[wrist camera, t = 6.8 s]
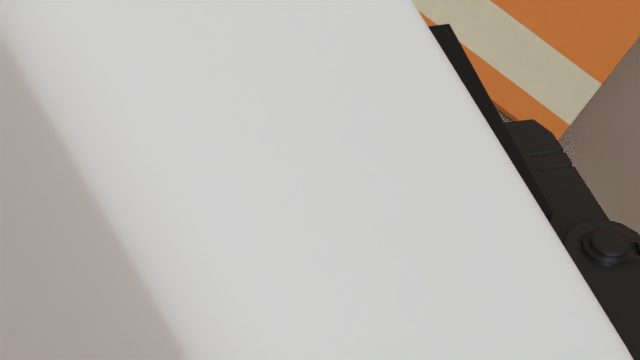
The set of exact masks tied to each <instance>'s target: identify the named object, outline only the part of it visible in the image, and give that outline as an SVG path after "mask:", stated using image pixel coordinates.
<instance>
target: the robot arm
mask: <svg viewBox="0 0 640 360" xmlns="http://www.w3.org/2000/svg"><path fill="white" fill-rule="evenodd" d="M428 27H429V29H430V31H431V32H432V34H433V35H434V37H435V39H436V40H437V42H438V43H439V45H440V47H441V48H442V50H443V52H444V53H445V55H446V56H447V58H448V60H449V61H450V63H451V64H452V66H453V68H454V69H455V71H456V73H457V74H458V76H459V77H460V79H461V81H462V82H463V84H464V85H465V87H466V89H467V90H468V92H469V94H470V95H471V97H472V98H473V100H474V102H475V103H476V105H477V107H478V108H479V110H480V111H481V113H482V115H483V116H484V118H485V119H486V121H487V123H488V124H489V126H490V128H491V129H492V131H493V132H494V134H495V136H496V137H497V139H498V140H499V142H500V144H501V145H502V147H503V149H504V150H505V152H506V153H507V155H508V157H509V158H510V160H511V161H512V163H513V165H514V166H515V168H516V170H517V171H518V173H519V174H520V176H521V178H522V179H523V181H524V183H525V184H526V186H527V187H528V189H529V191H530V192H531V194H532V195H533V197H534V199H535V200H536V202H537V204H538V205H539V207H540V208H541V210H542V212H543V213H544V215H545V216H546V218H547V220H548V221H549V223H550V225H551V226H552V228H553V229H554V231H555V233H556V234H557V236H558V237H559V239H560V241H561V242H562V244H563V246H564V247H565V249H566V250H567V252H568V254H569V255H570V257H571V258H572V260H573V262H574V263H575V265H576V267H577V268H578V270H579V271H580V273H581V275H582V276H583V278H584V280H585V281H586V283H587V284H588V286H589V288H590V289H591V291H592V292H593V294H594V296H595V297H596V299H597V301H598V302H599V304H600V305H601V307H602V309H603V310H604V312H605V313H606V315H607V317H608V318H609V320H610V322H611V323H612V325H613V326H614V328H615V330H616V331H617V333H618V334H619V336H620V338H621V339H622V341H623V343H624V344H625V346H626V347H627V349H628V351H629V353H630V354H631V356H632V358H633V360H640V235H639V234H638V233H637V232H635V231H633V230H632V229H630V228H628V227H626V226H625V225H623V224H620V223H617V222H613V221H610V220H609V219H608V217H607V216H606V214H605V213H604V211H603V210H602V208H601V207H600V205H599V204H598V202H597V201H596V199H595V197H594V196H593V194H592V193H591V191H590V190H589V188H588V187H587V185H586V184H585V182H584V181H583V179H582V177H581V176H580V174H579V173H578V171H577V170H576V168H575V167H573V166H572V162H571V161H570V159H569V158H568V156H567V154H566V153H563V148H562V147H561V145H560V144H559V142H558V141H557V139H556V138H555V136H554V134H553V133H552V132H551V131H549V130H548V129H547V128H545V127H544V126H542V125H541V124H539V123H538V122H537V121H535V120H534V119H530V120H521V121H513V122H505V123H504V122H503V121H502V119H501V117H500V115H499V113H498V111H497V110H496V108H495V106H494V104H493V102H492V100H491V99H490V97H489V95H488V93H487V91H486V90H485V88H484V86H483V84H482V82H481V80H480V79H479V77H478V75H477V73H476V71H475V69H474V68H473V66H472V64H471V62H470V60H469V58H468V57H467V55H466V53H465V51H464V49H463V48H462V46H461V44H460V42H459V40H458V38H457V37H456V35H455V33H454V31H453V29H452V27H451V26H450V24H443V25H435V26H428Z"/></svg>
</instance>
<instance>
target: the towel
mask: <svg viewBox="0 0 640 360" xmlns="http://www.w3.org/2000/svg"><path fill="white" fill-rule="evenodd" d="M412 1H413V3H414V5H415V6H416V8H417V9H418V11H419V13H420V14H421V16H422V18H423V19H424V21H425V22H426V24H427V26H435V25H443V24H450V26H451V27H452V29H453V31H454V33H455V35H456V37H457V38H458V40H459V42H460V44H461V46H462V48H463V49H464V51H465V53H466V55H467V57H468V58H469V60H470V62H471V64H472V66H473V68H474V69H475V71H476V73H477V75H478V77H479V79H480V80H481V82H482V84H483V86H484V88H485V90H486V91H487V93H488V95H489V97H490V99H491V100H492V102H493V104H494V106H495V107H496V108H497V109H498V110H500V111H501V112H502V113H503V114H505V115H506V116H507V117H509V118H510V119H511V120H513V121H521V120H530V119H534V120H535V121H537V122H538V123H539V124H541V125H542V126H544V127H545V128H547V129H548V130H549V131H551V132H552V133H553V134H554V136H555V138H556V139H557V141H558V140H559V139H560V137H561V136H562V135H563V134H564V132H565V131H566V130H567V128H568V127H569V126H570V125H571V124H572V122H573V121H574V120H575V119H576V117H577V116H578V115H579V113H580V112H581V111H582V110H583V108H584V107H585V106H586V104H587V103H588V102H589V101H590V99H591V98H592V97H593V96H594V94H595V93H596V92H597V90H598V89H599V88H600V87H601V85H602V84H603V83H604V81H605V80H606V79H607V77H608V76H609V75H610V74H611V72H612V71H613V70H614V69H615V67H616V66H617V65H618V63H619V62H620V61H621V60H622V58H623V57H624V56H625V55H626V53H627V52H628V51H629V49H630V48H631V47H632V46H633V44H634V43H635V42H636V40H637V39H638V38H639V37H640V0H412Z"/></svg>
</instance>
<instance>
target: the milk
mask: <svg viewBox="0 0 640 360" xmlns="http://www.w3.org/2000/svg"><path fill="white" fill-rule="evenodd" d="M0 360H633V358H632V356H631V354H630V353H629V351H628V349H627V347H626V346H625V344H624V343H623V341H622V339H621V338H620V336H619V334H618V333H617V331H616V330H615V328H614V326H613V325H612V323H611V322H610V320H609V318H608V317H607V315H606V313H605V312H604V310H603V309H602V307H601V305H600V304H599V302H598V301H597V299H596V297H595V296H594V294H593V292H592V291H591V289H590V288H589V286H588V284H587V283H586V281H585V280H584V278H583V276H582V275H581V273H580V271H579V270H578V268H577V267H576V265H575V263H574V262H573V260H572V258H571V257H570V255H569V254H568V252H567V250H566V249H565V247H564V246H563V244H562V242H561V241H560V239H559V237H558V236H557V234H556V233H555V231H554V229H553V228H552V226H551V225H550V223H549V221H548V220H547V218H546V216H545V215H544V213H543V212H542V210H541V208H540V207H539V205H538V204H537V202H536V200H535V199H534V197H533V195H532V194H531V192H530V191H529V189H528V187H527V186H526V184H525V183H524V181H523V179H522V178H521V176H520V174H519V173H518V171H517V170H516V168H515V166H514V165H513V163H512V161H511V160H510V158H509V157H508V155H507V153H506V152H505V150H504V149H503V147H502V145H501V144H500V142H499V140H498V139H497V137H496V136H495V134H494V132H493V131H492V129H491V128H490V126H489V124H488V123H487V121H486V119H485V118H484V116H483V115H482V113H481V111H480V110H479V108H478V107H477V105H476V103H475V102H474V100H473V98H472V97H471V95H470V94H469V92H468V90H467V89H466V87H465V85H464V84H463V82H462V81H461V79H460V77H459V76H458V74H457V73H456V71H455V69H454V68H453V66H452V64H451V63H450V61H449V60H448V58H447V56H446V55H445V53H444V52H443V50H442V48H441V47H440V45H439V43H438V42H437V40H436V39H435V37H434V35H433V34H432V32H431V31H430V29H429V27H428V26H427V24H426V22H425V21H424V19H423V18H422V16H421V14H420V13H419V11H418V9H417V8H416V6H415V5H414V3H413V1H412V0H0Z"/></svg>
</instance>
